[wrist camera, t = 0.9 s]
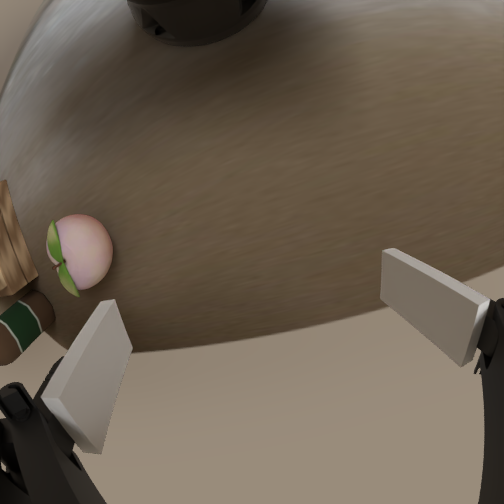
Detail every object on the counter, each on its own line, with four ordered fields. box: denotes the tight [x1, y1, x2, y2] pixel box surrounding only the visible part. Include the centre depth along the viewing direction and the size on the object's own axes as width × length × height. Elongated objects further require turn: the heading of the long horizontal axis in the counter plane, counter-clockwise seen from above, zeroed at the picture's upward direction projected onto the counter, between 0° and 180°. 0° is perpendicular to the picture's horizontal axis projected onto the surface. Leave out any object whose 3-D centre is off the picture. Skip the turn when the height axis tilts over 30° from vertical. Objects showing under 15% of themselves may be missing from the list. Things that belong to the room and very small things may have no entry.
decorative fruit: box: [46, 214, 113, 297], centre depth 29 cm, size 9×8×10 cm
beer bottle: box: [0, 290, 55, 366], centre depth 30 cm, size 8×8×24 cm
